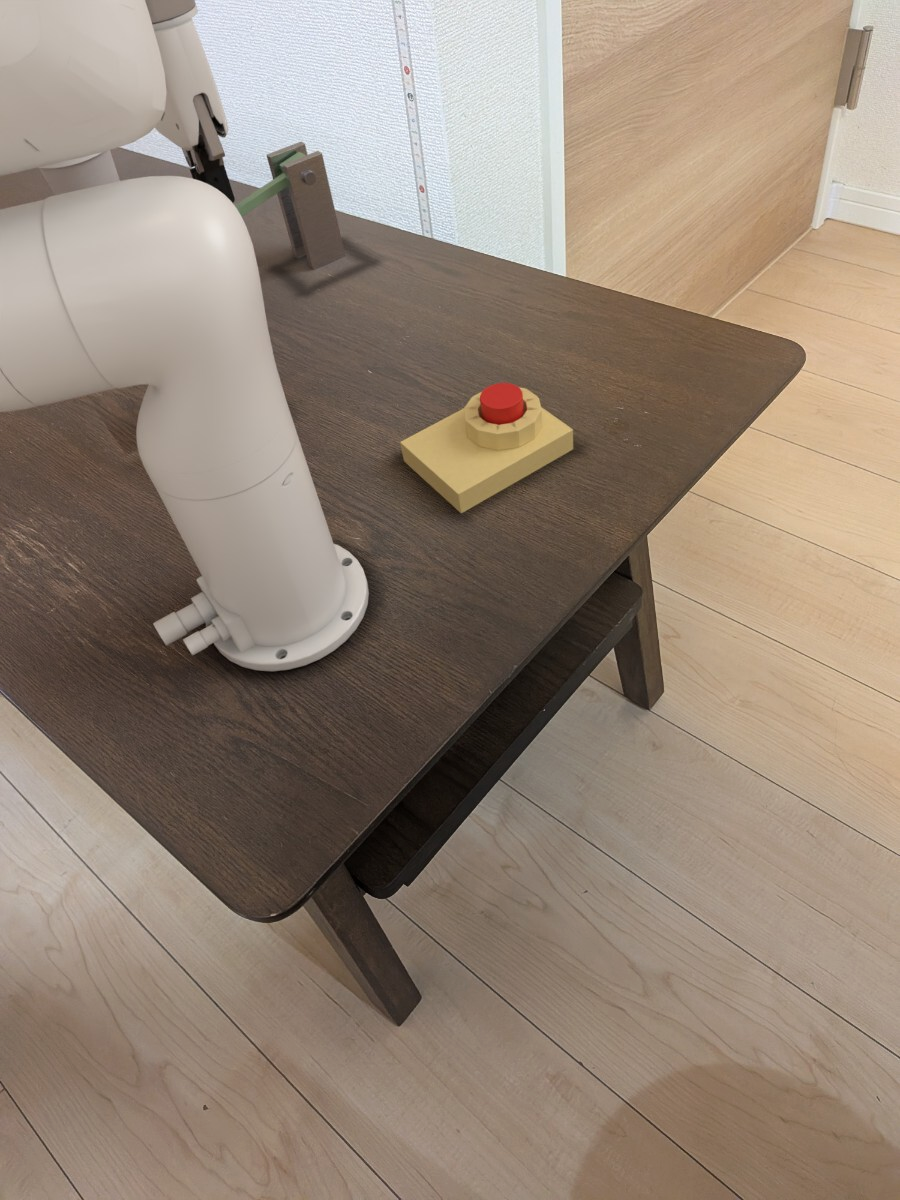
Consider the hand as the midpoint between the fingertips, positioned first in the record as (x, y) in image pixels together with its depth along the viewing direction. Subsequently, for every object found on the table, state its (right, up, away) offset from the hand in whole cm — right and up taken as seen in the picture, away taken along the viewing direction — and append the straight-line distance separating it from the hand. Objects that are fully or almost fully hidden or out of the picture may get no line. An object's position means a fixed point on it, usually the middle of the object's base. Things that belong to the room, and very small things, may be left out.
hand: (219, 204), depth 88 cm
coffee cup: (-19, +3, +20) cm, 27 cm away
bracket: (+9, -2, +11) cm, 14 cm away
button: (+29, -26, -18) cm, 43 cm away
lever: (+4, +1, +3) cm, 5 cm away
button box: (+28, -30, -16) cm, 44 cm away
